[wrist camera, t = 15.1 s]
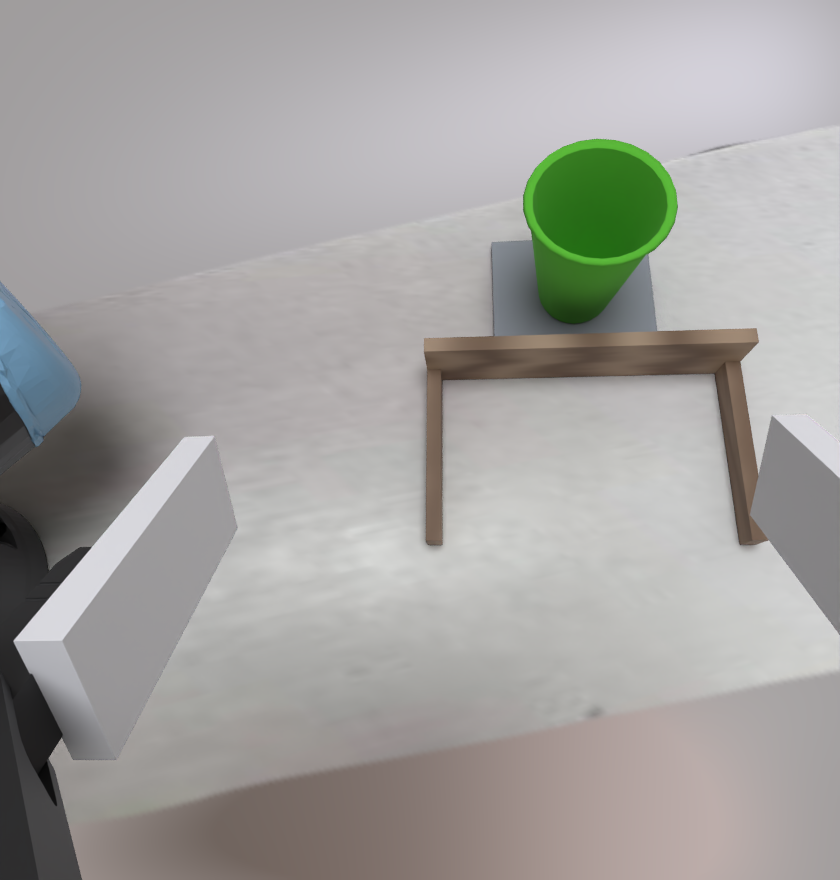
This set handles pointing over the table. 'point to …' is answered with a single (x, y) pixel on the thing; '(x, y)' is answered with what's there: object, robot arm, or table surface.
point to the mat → (527, 316)
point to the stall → (601, 359)
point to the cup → (594, 222)
